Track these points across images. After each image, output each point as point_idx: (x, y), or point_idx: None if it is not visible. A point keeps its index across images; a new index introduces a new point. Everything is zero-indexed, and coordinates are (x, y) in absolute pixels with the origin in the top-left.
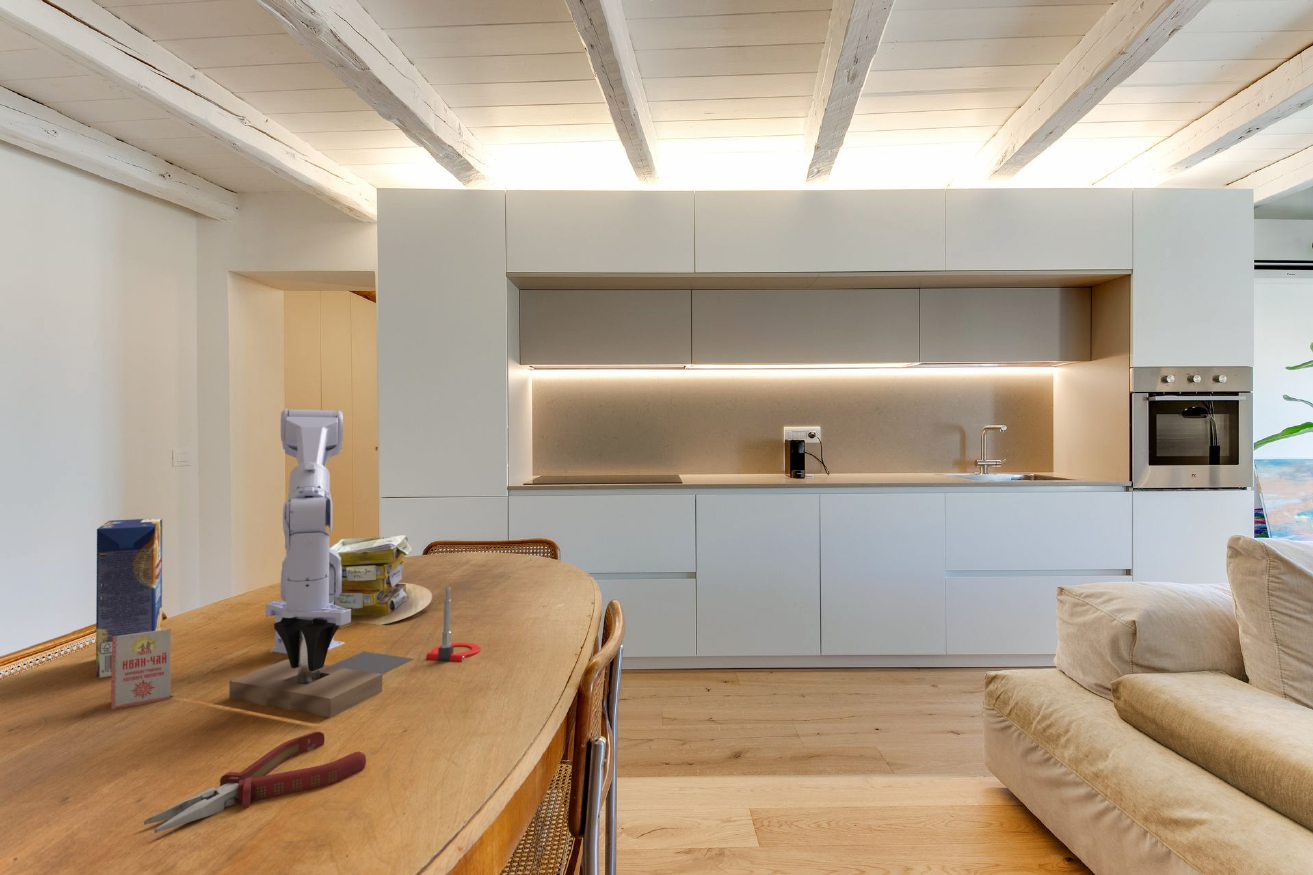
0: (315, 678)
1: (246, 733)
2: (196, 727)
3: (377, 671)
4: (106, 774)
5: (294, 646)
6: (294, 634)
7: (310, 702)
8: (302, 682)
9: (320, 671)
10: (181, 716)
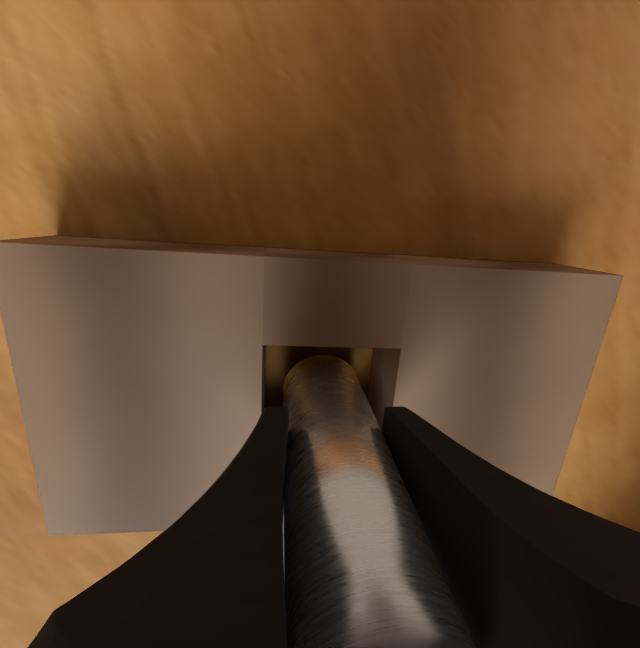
0: None
1: (272, 26)
2: (509, 23)
3: None
4: None
5: (436, 492)
6: (486, 579)
7: (144, 245)
8: (319, 372)
9: None
10: (631, 100)
